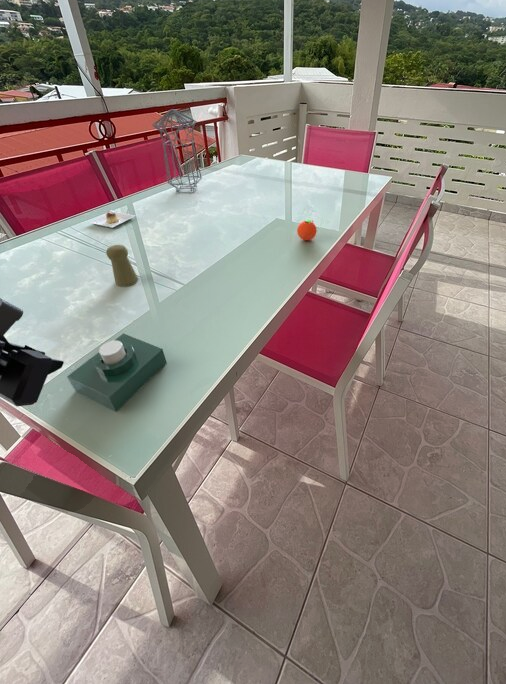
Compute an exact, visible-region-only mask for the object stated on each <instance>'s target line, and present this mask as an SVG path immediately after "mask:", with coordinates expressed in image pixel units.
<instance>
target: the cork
mask: <svg viewBox="0 0 506 684" xmlns="http://www.w3.org/2000/svg"><path fill="white" fill-rule="evenodd" d="M105 255H106V257H107V258H108V260H110V263H111V266H112V274H113V277H114V283H115V285H116V286H117V287H119V288H125V287H130V286H132V285H135V284H136V283H138V281H139V277H138V275H137V273H136V271H135V268H134V267H133V265H132V263H131V261H130V258H129V257H128V255H129V251H128V248H127V247H126V246H125V245H123V244H114V245H111V246H109V247H108V248H107V249H106V252H105Z"/></svg>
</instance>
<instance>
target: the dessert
mask: <svg viewBox="0 0 506 684" xmlns="http://www.w3.org/2000/svg"><path fill="white" fill-rule="evenodd" d="M135 217H136V215H135V214H129V213H125V212H124V213H123V212H118V211H114V210H111V209H110V210H109V211H107V212H106V213H105V214H103V215H101V216H99V217H96V218H94V219H92V220H90V221H87V223H88V224H92V225H97V226H102V227H107V228H111V229H114V228H116V227H118V226H121V225H122V224H124V223H126V222H128V221H130V220H132V219H133V218H135Z"/></svg>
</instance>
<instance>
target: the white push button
mask: <svg viewBox="0 0 506 684" xmlns="http://www.w3.org/2000/svg"><path fill="white" fill-rule="evenodd" d="M98 352H99V353H100V356H101V358H102V360H103V362H104V363H105V364H107V365H112V364H115V363H118V362H120V361H121V360H123V359H124V358H125V356H126V352H125V350H124V347H123V345H122V343H121V342H120V341H117V340H115V339H114V340H110V341H107V342H104V344H102V345H100V347H99V349H98Z"/></svg>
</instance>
